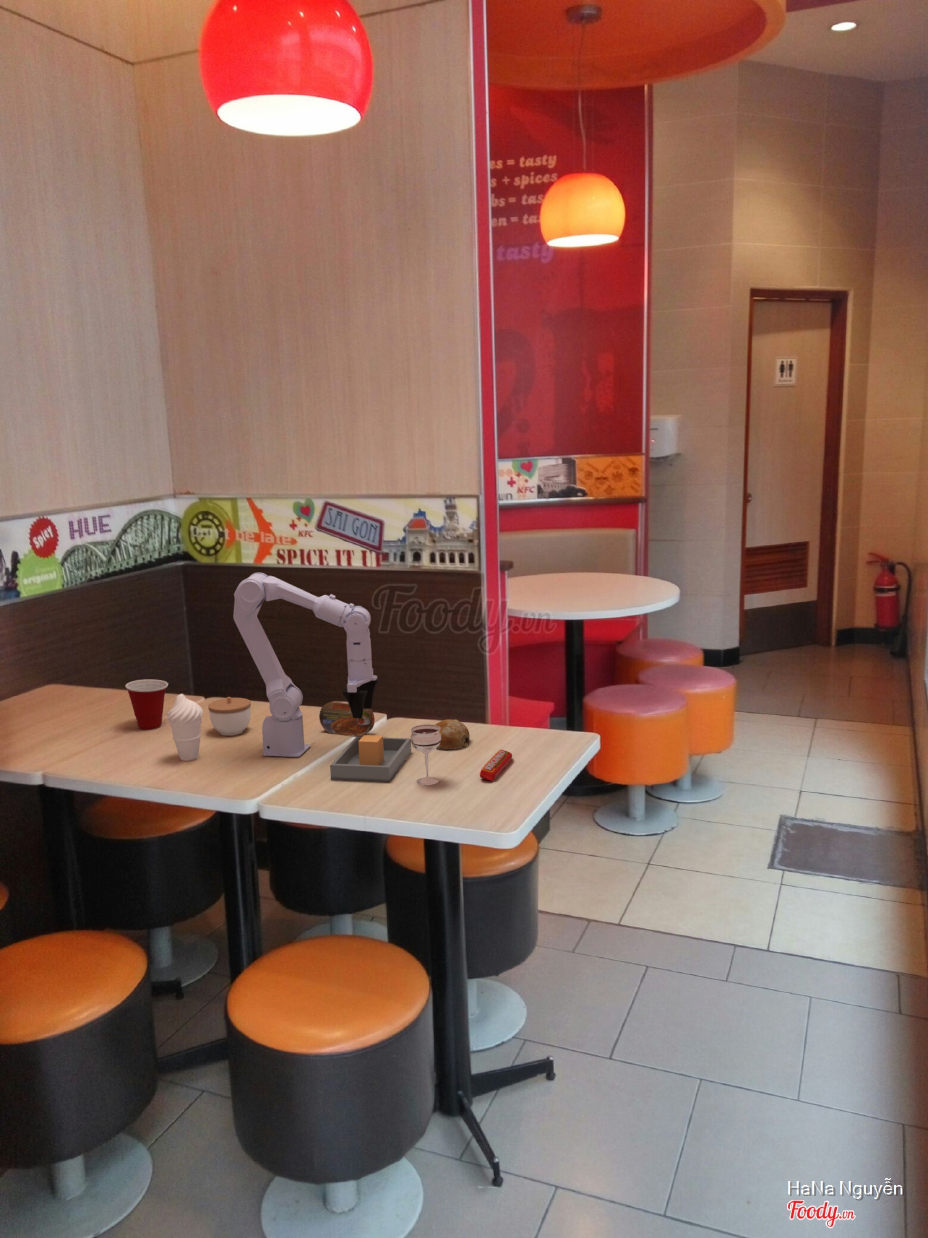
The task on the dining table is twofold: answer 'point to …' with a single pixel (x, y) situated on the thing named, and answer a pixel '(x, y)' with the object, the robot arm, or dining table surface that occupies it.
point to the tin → (345, 719)
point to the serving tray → (351, 769)
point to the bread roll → (453, 735)
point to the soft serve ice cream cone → (186, 727)
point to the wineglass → (426, 746)
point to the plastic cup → (147, 702)
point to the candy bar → (496, 765)
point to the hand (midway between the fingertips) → (362, 713)
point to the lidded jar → (230, 715)
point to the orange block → (371, 750)
